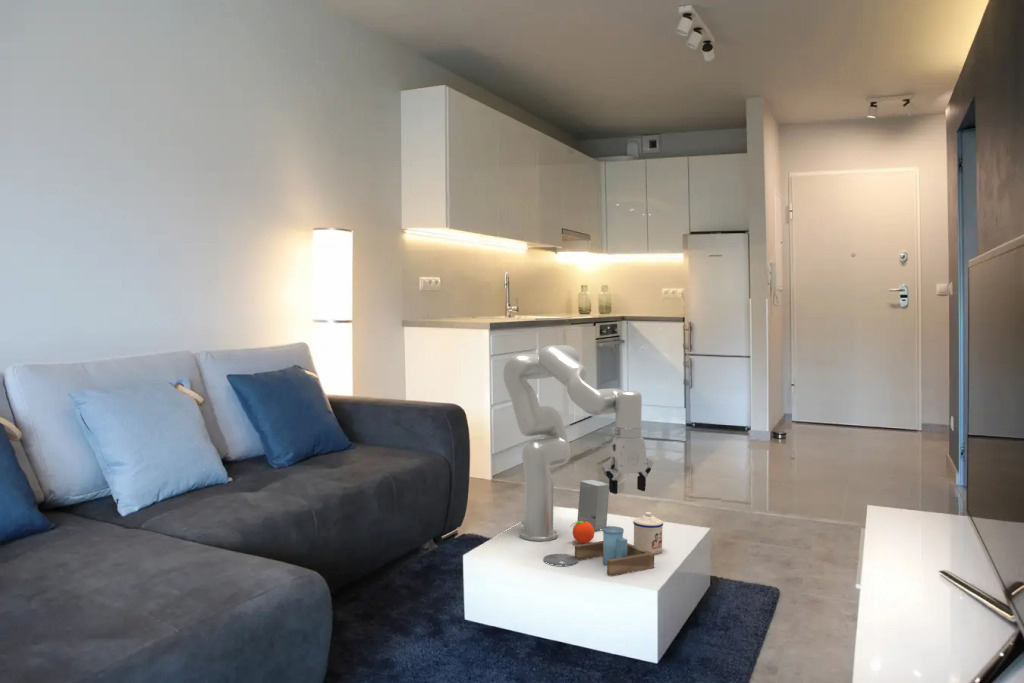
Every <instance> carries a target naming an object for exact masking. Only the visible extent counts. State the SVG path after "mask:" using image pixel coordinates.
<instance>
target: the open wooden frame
mask: <svg viewBox="0 0 1024 683" xmlns="http://www.w3.org/2000/svg"><path fill="white" fill-rule="evenodd" d="M574 556H575V557H576V558H578V561H581V560H582V559H583V560H588V559H587V558H589V559H594V558H593V557H595V558H600V557H603V540H602V541H601V540H600V541H594V542H589V543H585V544H582V543H580V544H576V545H574ZM583 560H582V561H583ZM644 569H645V570H650V569H655V554H654V553H651V552H649V551H646V550H644V549H641V548H639V547H636V546H634V544H631V543H629V542H627V557H622V558H616V559H611V560H607V566H606V575H607V574H608V575H607V576H609V575H614V576H617V575H616V574H619V575H622V574H621V573H625V574H628V573H627V572H630V573H633V572H632V571H635V572H639V571H638V570H640V571H644Z"/></svg>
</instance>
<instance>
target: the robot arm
mask: <svg viewBox="0 0 1024 683" xmlns="http://www.w3.org/2000/svg"><path fill="white" fill-rule="evenodd" d="M502 374H503V382H504V385H505V388H506V391H507V393H508V395H509V397H510V399H511V403H512V407H513V411H514V415H515V419H516V423H517V426H518V429H519V432H520V433H521V435H523V436H525V437H536V436H537V437H538V436H540V437H541V436H542V437H543V438H539V439H534V440H531V441H527V443H526V444H525V445H524V446H523V448H522V450H521V460H522V466H523V475H524V504H523V505H524V507H523V508H524V510H523V511H524V512H523V516H524V517H523V519H521V520H520V524H521V525H523V528H522V529H520V530H519V532H518V536H519V538H522V539H523V540H528V541H535V542H546V541H552V540H555V539H557V538H558V536H559V532H558V531H557V530H554V497H555V494H554V493H555V492H554V490H555V486H554V485H555V484H554V477H553V475H552V473H551V471H550V468H553V467H559V466H562V465H565V464H566V463H567V462H568V461H569V460H570V458H571V446H570V441H569V439H568V435H567V432H566V428H565V424H564V422H563V419H562V416H561V414H560V412H559V411H558V409H556V408H555V407H552V406H549V405H545V406H541V405H540V403H539V401H538V395H537V394H536V391H535V390H534V388H533V386H532V385H531V384H530V383H529V382H528V380H536V379H548V378H552V377H554V379H556V380H557V381H558V382H560V383H561V384H562V385H564V386H565V387H566V391H567V393H568V396H569V398H570V400H571V401H572V402H573V403H574V405H576V406H578V407H579V408H580V409H581V410H582V411H584V412H586V413H588V414H589V415H591V416H592V415H593V416H600V415H610V414H611V415H612V414H615V415H614V416H615V420H614V421H615V422H614V423H615V426H614V429H612V430H611V434H612V435H613V436H614V437H613V439H612V444H611V448H610V459H608V460H607V461H606V462H604V463H602V464H601V468H602V470H603V474H604V475H605V476H606V477H607V479H608V484H609V493H610V494H613V495H617V494H618V488H619V487H618V485H619V484H618V482H619V481H618V480H617V478H618V477H619V475H620V474H621V475H622V474H623V475H627V474H638V475H637V480H636V482H637V483H636V484H637V485H636V486H637V488H636V489H637V490H638V491H641V492H645V491H646V487H647V478H648V476H649V474H650V473H651V469H652V468H653V465H654V461H653V460H651V459H649V458H648V457H647V450H646V449H647V448H646V443H645V438H644V437H642V403H643V402H642V394H641V393H640V392H639V391H636V390H624V389H623V390H622V389H619V388H600V389H599V388H598V389H595V388H593V387H592V386H591V385H589V384H588V383H586V382H585V379H586V377H587V369H586V367H585V365H583V364H582V363H581V362H580V355H579V352H578V350H577V349H576V348H574V347H573V346H571V345H569V344H559V345H557V344H552V345H547V346H545V347H544V346H543V348H541V349H540V351H539V352H538V353H519V354H515V355H513V356H510V358H509V359H508V360H507V361H506V363H505V364H504V366H503V373H502ZM609 468H610V469H609Z"/></svg>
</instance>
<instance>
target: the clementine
mask: <svg viewBox="0 0 1024 683" xmlns="http://www.w3.org/2000/svg"><path fill="white" fill-rule="evenodd" d="M572 526H573V527H572ZM569 528H572V536H573V538H574V540H575V541H576V542H577V543H579V544H587V543H591V541H592V540H593V538H594V537H595V531H594V528H593V526H592V525H591V524H590V523H589V522H586V521H578V522H577V521H575V522H574V523H572V524H571V525H570V527H569Z"/></svg>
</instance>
